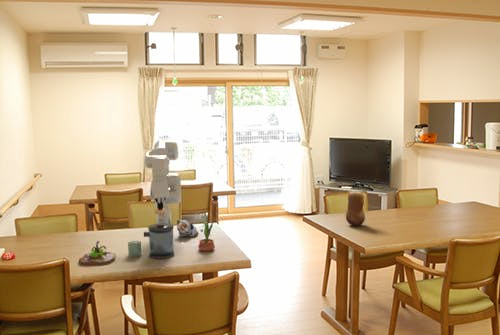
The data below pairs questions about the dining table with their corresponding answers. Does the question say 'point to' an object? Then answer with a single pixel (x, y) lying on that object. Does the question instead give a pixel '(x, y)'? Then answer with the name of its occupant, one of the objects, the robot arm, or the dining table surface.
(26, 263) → the dining table surface
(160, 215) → the push button
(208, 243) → the potted flower
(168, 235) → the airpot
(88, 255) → the plant
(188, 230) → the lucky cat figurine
